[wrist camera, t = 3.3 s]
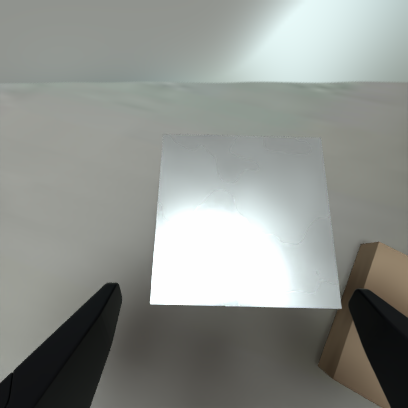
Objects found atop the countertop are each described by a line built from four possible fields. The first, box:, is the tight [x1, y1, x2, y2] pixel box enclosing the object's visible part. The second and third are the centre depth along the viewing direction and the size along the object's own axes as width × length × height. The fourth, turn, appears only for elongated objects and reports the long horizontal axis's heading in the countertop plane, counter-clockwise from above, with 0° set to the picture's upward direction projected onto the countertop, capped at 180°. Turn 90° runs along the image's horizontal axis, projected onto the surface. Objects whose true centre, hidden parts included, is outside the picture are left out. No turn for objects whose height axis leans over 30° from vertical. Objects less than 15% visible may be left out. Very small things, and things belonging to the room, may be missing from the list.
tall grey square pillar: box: [150, 134, 342, 309], centre depth 13 cm, size 6×6×12 cm
